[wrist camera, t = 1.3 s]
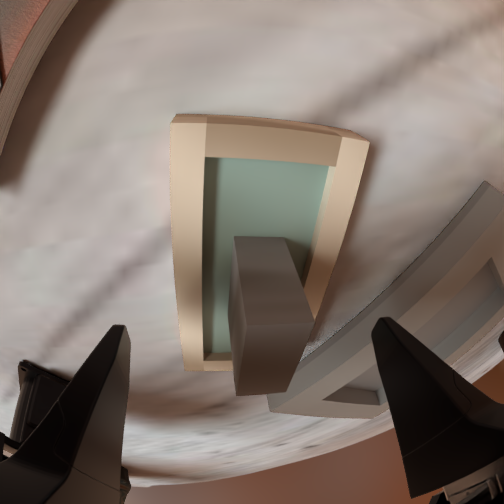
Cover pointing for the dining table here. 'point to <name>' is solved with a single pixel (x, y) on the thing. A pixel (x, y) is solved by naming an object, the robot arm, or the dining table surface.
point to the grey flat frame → (412, 316)
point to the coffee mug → (502, 341)
